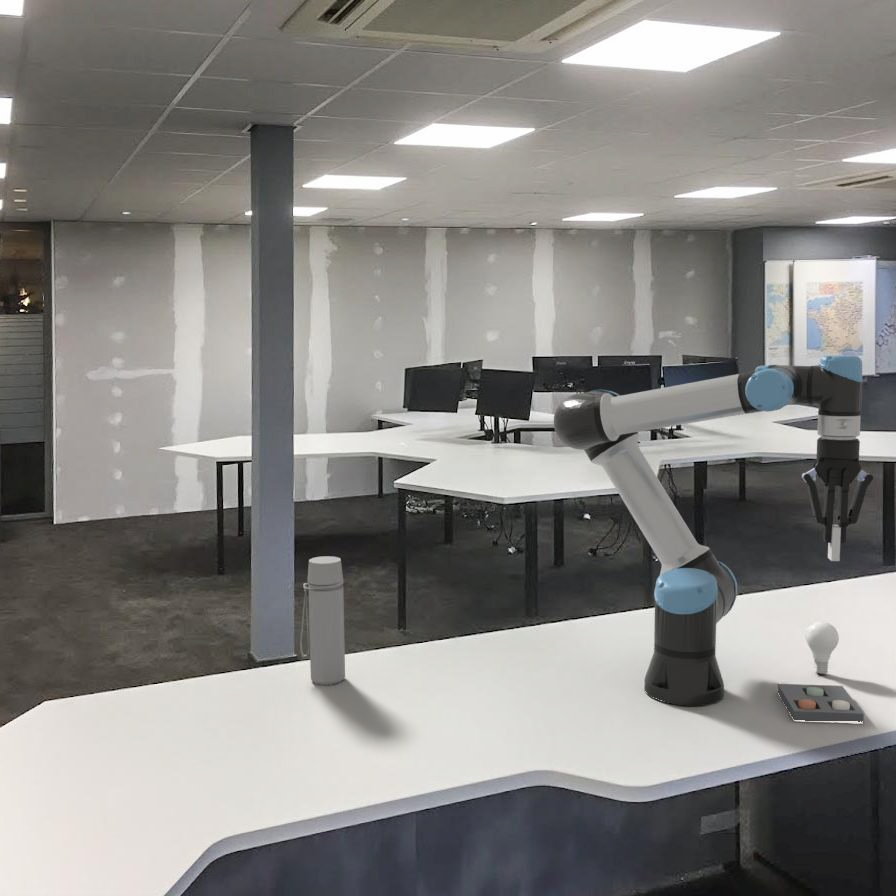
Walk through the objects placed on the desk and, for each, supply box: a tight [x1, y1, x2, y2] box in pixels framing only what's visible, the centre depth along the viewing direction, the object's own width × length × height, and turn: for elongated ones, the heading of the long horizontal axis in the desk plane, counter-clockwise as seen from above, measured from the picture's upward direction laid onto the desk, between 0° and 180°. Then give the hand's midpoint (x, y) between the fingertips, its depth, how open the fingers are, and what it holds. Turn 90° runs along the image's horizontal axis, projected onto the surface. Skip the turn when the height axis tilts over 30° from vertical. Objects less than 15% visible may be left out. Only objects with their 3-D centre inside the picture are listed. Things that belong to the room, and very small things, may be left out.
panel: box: [777, 683, 865, 722], centre depth 185 cm, size 12×14×2 cm
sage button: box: [807, 687, 824, 696], centre depth 188 cm, size 3×3×2 cm
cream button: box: [832, 700, 850, 710], centre depth 181 cm, size 3×3×2 cm
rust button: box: [798, 699, 816, 709], centre depth 182 cm, size 3×3×2 cm
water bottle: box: [299, 555, 346, 686], centre depth 201 cm, size 9×8×25 cm
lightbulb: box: [805, 620, 840, 675], centre depth 203 cm, size 6×6×11 cm
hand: (833, 559), depth 190 cm, fingers closed
